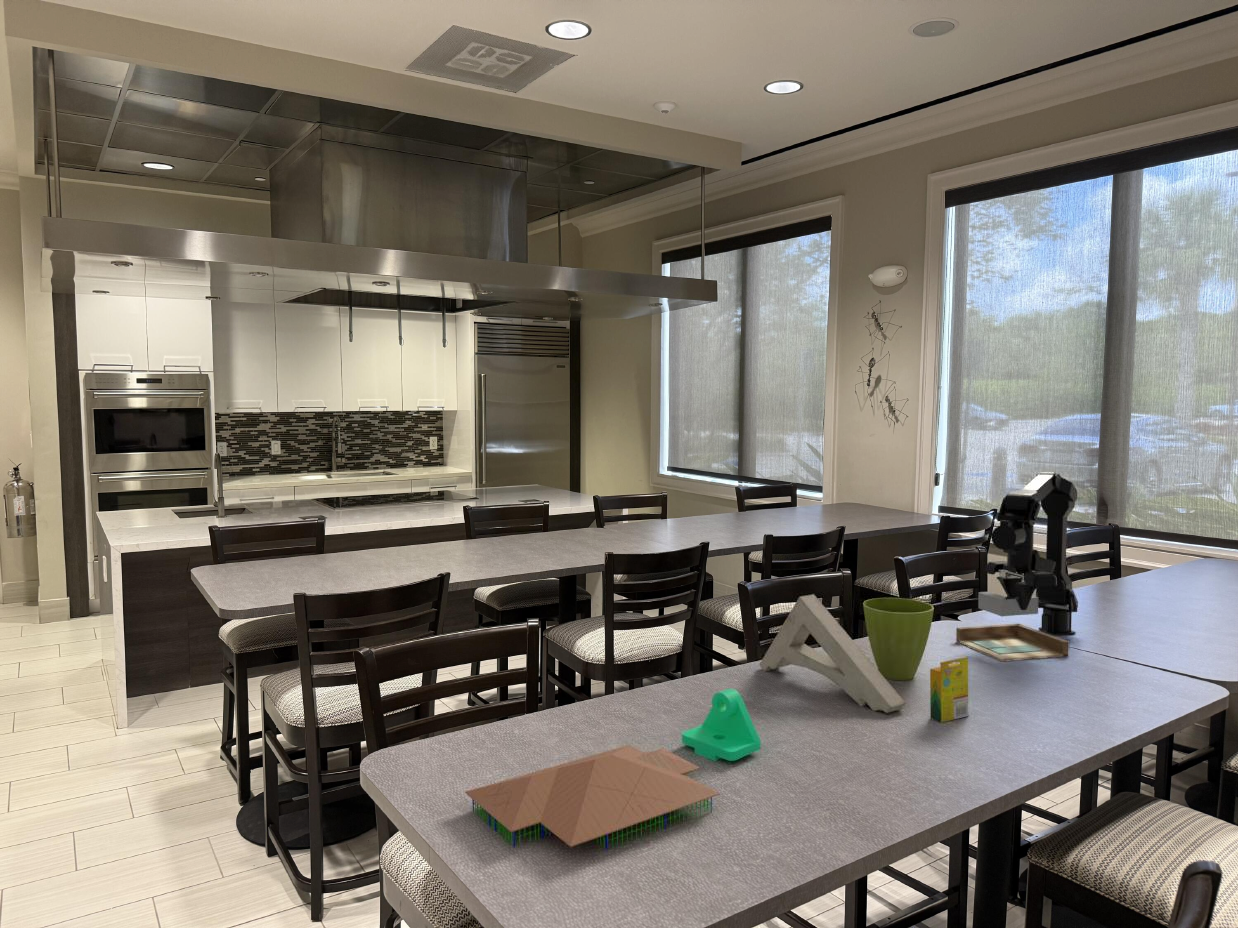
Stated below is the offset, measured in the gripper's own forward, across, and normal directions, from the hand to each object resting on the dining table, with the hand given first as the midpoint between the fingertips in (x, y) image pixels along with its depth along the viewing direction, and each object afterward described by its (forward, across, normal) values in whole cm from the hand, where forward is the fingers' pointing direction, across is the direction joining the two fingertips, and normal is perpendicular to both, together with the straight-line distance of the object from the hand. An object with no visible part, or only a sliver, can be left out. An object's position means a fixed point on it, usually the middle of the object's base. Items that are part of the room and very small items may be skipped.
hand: (1019, 608), depth 204 cm
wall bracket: (+11, -15, +58) cm, 60 cm away
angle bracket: (+1, +3, +1) cm, 3 cm away
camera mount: (+11, -41, +90) cm, 100 cm away
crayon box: (+11, -36, +42) cm, 56 cm away
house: (+11, -58, +114) cm, 129 cm away
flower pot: (+11, -10, +38) cm, 41 cm away
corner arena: (+11, +3, 0) cm, 11 cm away
